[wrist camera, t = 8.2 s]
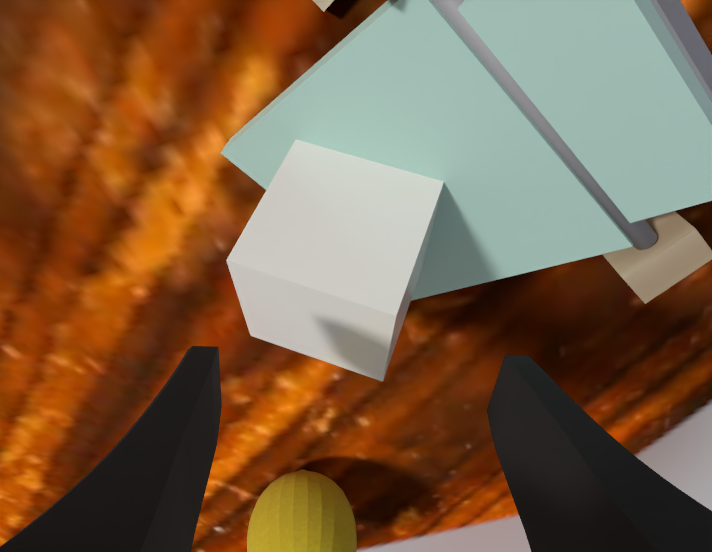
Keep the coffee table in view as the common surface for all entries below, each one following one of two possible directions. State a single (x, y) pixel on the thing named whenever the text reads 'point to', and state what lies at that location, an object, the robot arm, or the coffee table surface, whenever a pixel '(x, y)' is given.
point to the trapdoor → (512, 124)
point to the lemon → (302, 516)
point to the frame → (653, 250)
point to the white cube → (334, 256)
